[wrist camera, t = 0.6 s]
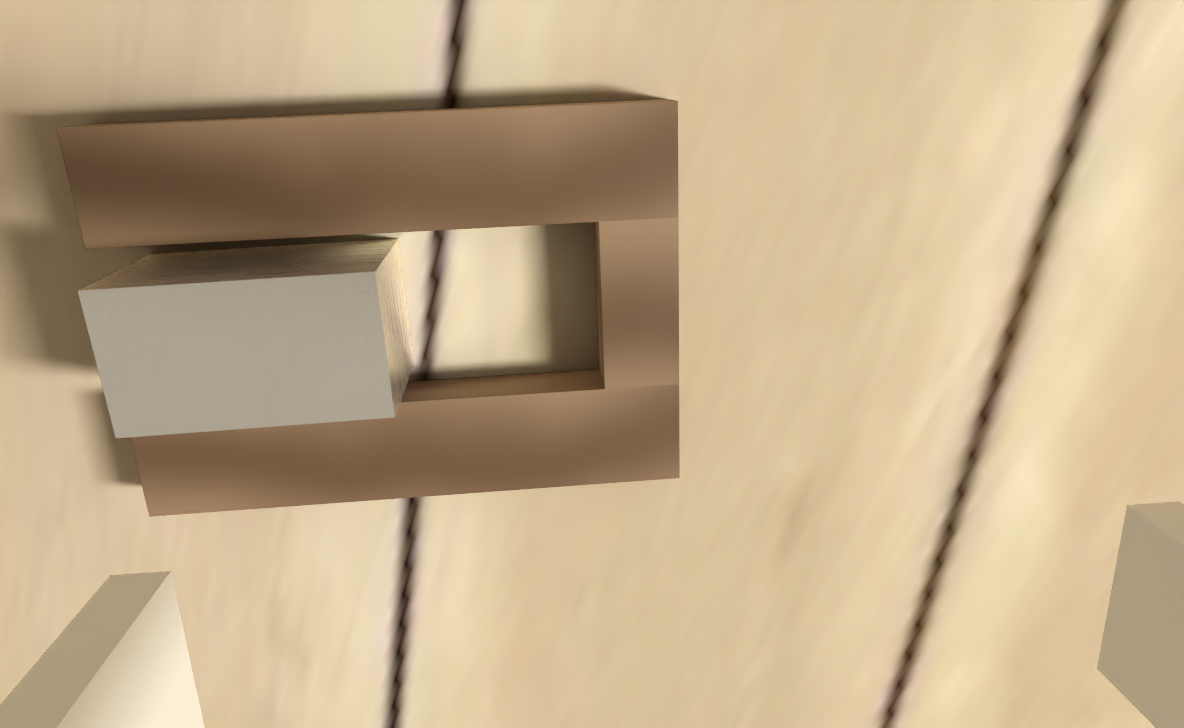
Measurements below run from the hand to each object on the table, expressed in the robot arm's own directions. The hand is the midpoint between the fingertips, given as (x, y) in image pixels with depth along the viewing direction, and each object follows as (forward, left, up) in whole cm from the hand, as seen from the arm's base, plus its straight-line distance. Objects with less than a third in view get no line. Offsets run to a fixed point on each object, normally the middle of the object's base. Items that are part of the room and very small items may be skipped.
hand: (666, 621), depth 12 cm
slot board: (0, -6, -18) cm, 19 cm away
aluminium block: (0, -10, -19) cm, 21 cm away
